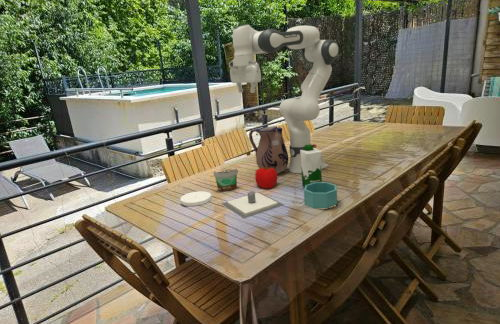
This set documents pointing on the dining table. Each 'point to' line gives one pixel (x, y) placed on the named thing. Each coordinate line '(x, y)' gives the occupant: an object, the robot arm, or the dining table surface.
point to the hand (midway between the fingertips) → (246, 92)
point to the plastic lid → (195, 198)
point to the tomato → (266, 177)
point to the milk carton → (310, 165)
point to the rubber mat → (252, 213)
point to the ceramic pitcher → (270, 148)
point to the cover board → (252, 203)
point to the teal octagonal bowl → (320, 195)
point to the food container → (226, 180)
